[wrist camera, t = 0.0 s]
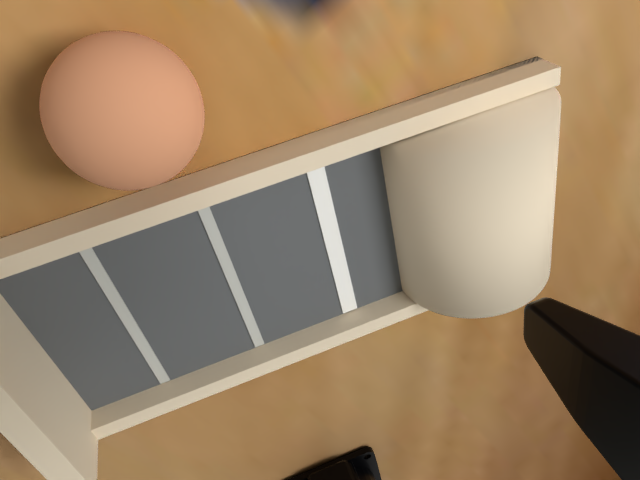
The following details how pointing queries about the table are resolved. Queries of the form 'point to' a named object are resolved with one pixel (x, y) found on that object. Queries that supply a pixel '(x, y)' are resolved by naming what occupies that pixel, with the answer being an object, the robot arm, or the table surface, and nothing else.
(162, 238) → the lane
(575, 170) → the table surface
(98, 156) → the ball
